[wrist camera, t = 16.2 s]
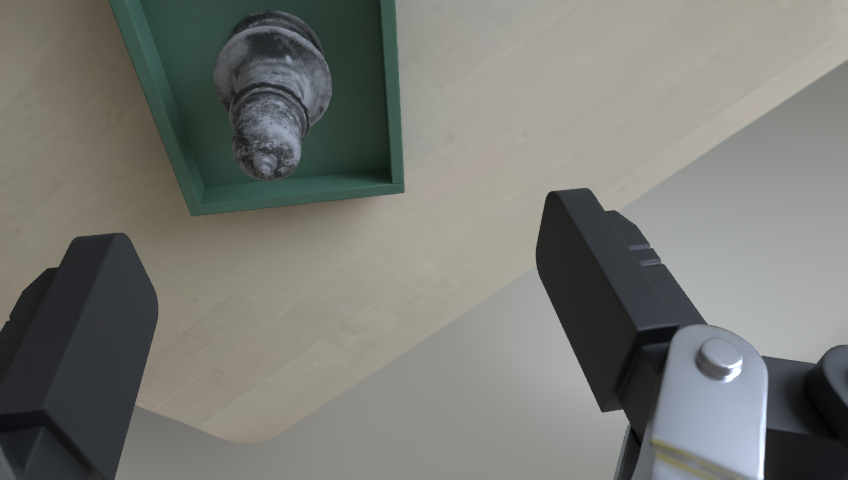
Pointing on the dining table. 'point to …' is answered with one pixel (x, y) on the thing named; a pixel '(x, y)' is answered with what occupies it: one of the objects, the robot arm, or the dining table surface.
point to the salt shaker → (272, 91)
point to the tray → (209, 121)
